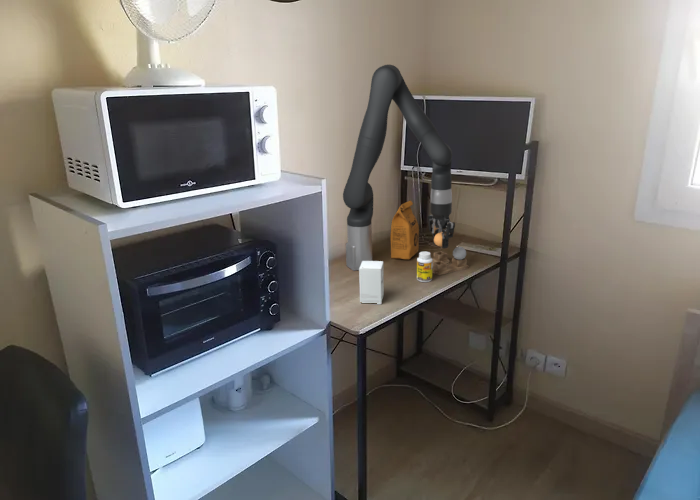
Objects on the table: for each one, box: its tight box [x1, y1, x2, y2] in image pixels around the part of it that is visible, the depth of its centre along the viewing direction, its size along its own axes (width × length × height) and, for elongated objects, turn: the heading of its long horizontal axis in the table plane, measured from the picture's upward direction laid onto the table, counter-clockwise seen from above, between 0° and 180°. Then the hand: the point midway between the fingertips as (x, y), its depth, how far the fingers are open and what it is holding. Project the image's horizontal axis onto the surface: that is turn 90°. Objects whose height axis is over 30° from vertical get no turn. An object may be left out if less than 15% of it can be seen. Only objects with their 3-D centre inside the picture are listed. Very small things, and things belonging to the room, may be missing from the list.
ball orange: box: [434, 232, 442, 247], centre depth 198 cm, size 5×5×5 cm
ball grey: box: [452, 246, 467, 260], centre depth 204 cm, size 5×5×5 cm
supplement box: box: [358, 260, 385, 305], centre depth 179 cm, size 7×7×13 cm
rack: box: [432, 257, 469, 276], centre depth 204 cm, size 14×5×4 cm, turn 117°
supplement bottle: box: [416, 251, 433, 283], centre depth 194 cm, size 6×6×10 cm
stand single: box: [431, 250, 450, 264], centre depth 212 cm, size 5×5×4 cm
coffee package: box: [390, 200, 420, 260], centre depth 216 cm, size 10×12×22 cm
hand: (440, 245), depth 199 cm, fingers closed on ball orange, 5 cm apart
